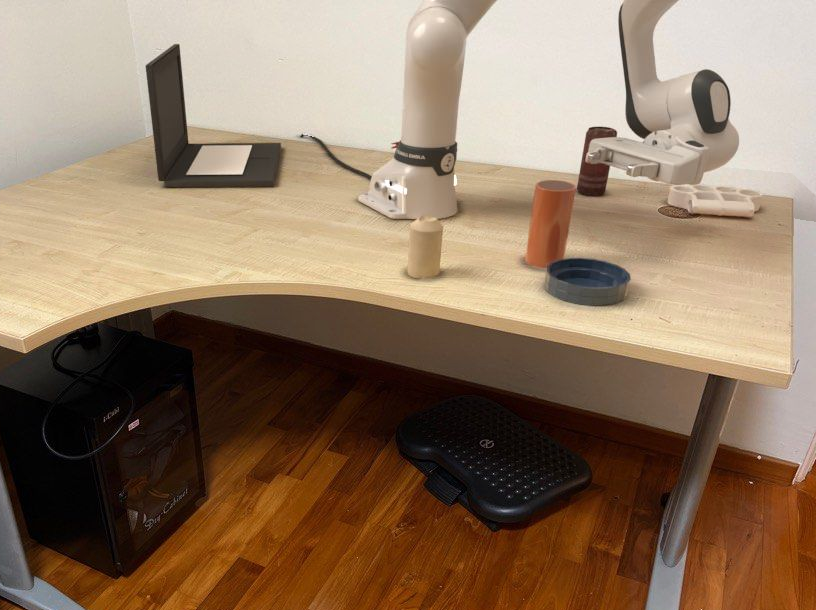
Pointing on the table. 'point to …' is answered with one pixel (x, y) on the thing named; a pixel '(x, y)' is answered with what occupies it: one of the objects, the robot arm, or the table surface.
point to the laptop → (198, 161)
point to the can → (594, 165)
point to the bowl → (587, 281)
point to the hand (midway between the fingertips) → (608, 164)
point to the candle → (425, 247)
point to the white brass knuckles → (715, 199)
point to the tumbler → (549, 222)
